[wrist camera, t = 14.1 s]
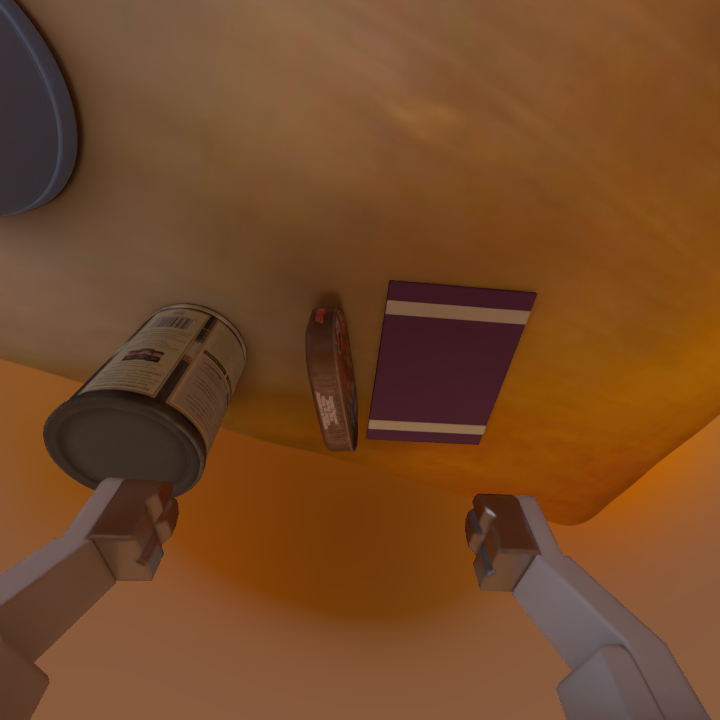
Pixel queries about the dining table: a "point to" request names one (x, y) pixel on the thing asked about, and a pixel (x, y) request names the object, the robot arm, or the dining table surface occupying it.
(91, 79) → the dining table surface
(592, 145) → the dining table surface
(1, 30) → the water jug
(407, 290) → the cloth
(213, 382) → the coffee can
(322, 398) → the tin
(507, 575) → the robot arm
